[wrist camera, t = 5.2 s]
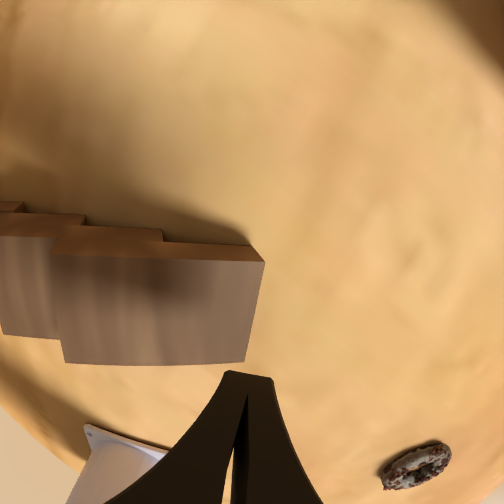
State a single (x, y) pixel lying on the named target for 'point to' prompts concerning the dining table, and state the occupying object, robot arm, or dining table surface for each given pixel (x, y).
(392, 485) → the donut
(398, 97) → the dining table surface
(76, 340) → the domino
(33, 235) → the domino
